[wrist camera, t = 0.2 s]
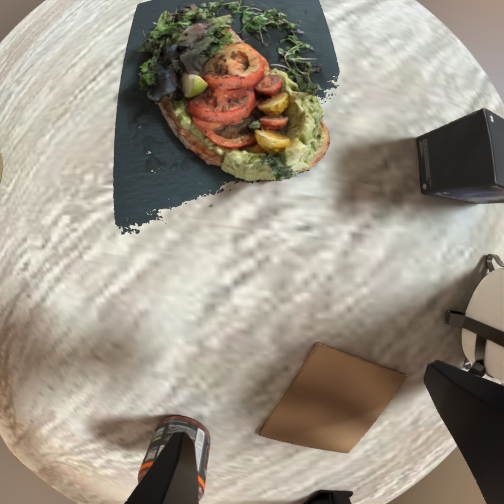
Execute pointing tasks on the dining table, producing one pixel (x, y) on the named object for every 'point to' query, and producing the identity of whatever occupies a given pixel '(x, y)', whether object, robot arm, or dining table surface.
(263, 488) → the dining table surface
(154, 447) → the supplement bottle
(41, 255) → the dining table surface
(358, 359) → the walnut trivet
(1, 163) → the plant pot
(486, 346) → the coffee press
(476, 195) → the small box
